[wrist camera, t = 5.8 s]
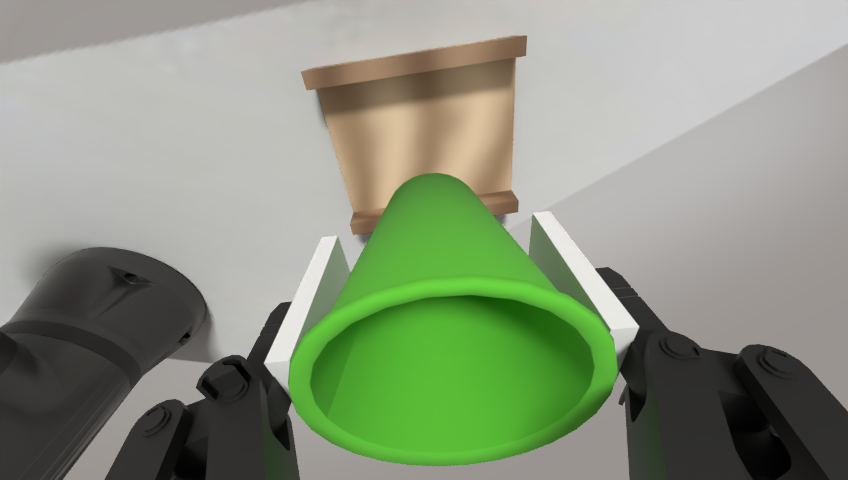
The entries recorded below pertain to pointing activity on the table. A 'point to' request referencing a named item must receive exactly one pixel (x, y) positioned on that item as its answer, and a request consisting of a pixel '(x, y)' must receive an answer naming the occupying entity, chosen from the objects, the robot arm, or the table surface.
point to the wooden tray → (422, 122)
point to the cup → (449, 341)
